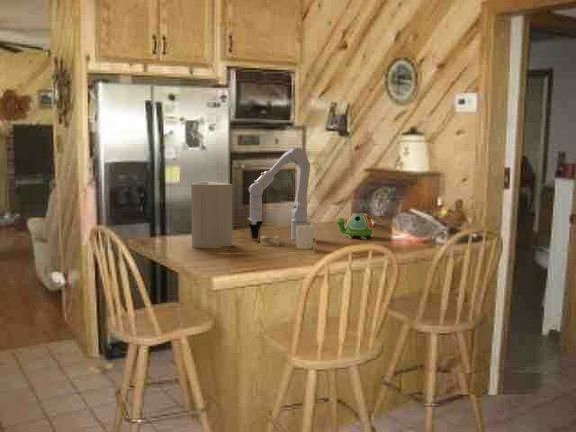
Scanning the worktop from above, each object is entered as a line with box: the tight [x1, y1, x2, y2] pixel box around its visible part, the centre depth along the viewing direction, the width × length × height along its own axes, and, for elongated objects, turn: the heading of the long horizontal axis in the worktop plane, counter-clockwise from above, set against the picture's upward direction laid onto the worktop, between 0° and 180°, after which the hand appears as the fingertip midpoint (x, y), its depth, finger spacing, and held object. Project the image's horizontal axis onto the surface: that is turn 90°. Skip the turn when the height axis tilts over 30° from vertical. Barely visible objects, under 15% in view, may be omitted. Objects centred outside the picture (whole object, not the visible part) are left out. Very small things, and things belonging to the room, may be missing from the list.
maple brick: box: [259, 235, 280, 247], centre depth 270 cm, size 8×5×4 cm, turn 86°
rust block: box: [249, 227, 262, 241], centre depth 282 cm, size 4×4×5 cm
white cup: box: [295, 225, 315, 250], centre depth 263 cm, size 8×8×10 cm
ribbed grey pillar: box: [190, 181, 233, 249], centre depth 267 cm, size 19×15×28 cm
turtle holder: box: [336, 212, 374, 240], centre depth 295 cm, size 12×18×12 cm
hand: (255, 237), depth 282 cm, fingers closed on rust block, 4 cm apart
